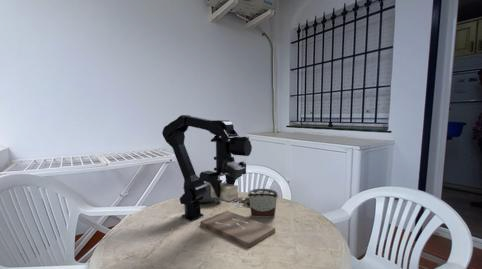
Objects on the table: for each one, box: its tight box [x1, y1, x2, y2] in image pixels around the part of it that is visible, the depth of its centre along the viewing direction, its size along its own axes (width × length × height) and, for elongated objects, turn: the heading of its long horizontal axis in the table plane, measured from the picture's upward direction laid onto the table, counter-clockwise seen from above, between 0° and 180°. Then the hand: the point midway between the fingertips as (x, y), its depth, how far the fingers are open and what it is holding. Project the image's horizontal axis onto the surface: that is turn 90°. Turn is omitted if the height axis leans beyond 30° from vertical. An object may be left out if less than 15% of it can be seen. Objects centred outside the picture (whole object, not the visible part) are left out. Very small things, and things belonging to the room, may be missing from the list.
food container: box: [247, 188, 279, 218], centre depth 99 cm, size 12×6×10 cm, turn 84°
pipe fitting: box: [199, 181, 222, 204], centre depth 114 cm, size 12×8×10 cm, turn 88°
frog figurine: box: [232, 196, 250, 208], centre depth 113 cm, size 12×12×4 cm
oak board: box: [199, 210, 276, 249], centre depth 87 cm, size 24×14×2 cm, turn 48°
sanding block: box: [211, 182, 239, 204], centre depth 90 cm, size 9×5×5 cm, turn 53°
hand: (224, 195), depth 90 cm, fingers closed on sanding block, 5 cm apart
